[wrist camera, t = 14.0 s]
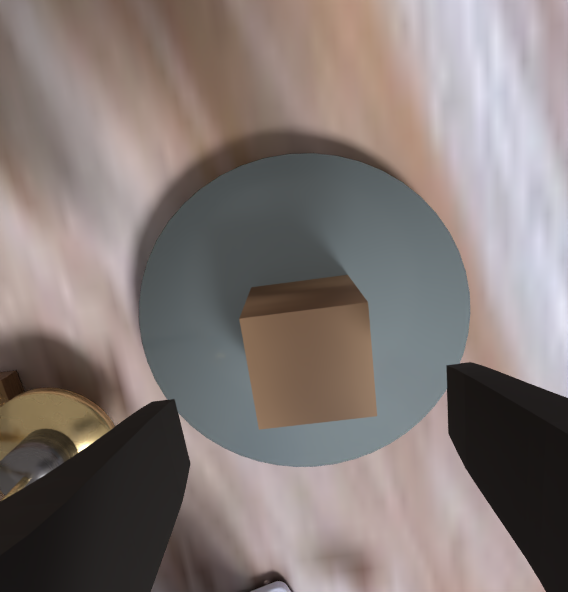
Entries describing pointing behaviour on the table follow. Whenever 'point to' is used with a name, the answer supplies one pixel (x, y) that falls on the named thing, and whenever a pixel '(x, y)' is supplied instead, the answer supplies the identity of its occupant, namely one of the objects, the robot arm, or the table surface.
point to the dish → (297, 267)
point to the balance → (42, 430)
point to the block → (309, 352)
